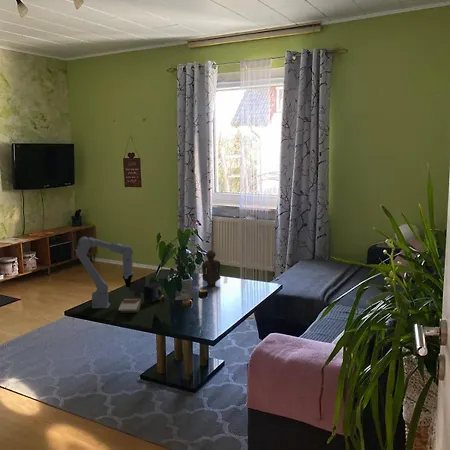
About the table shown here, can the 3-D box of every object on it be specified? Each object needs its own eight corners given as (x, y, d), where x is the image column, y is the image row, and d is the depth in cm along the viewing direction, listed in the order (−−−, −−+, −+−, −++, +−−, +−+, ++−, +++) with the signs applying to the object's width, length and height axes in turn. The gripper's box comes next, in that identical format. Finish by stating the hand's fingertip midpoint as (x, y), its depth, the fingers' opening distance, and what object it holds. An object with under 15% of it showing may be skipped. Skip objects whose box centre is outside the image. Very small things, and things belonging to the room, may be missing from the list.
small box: (151, 304, 296) (151, 287, 294) (143, 302, 299) (143, 285, 297) (162, 299, 305) (162, 283, 303) (154, 297, 308) (154, 281, 306)
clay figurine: (218, 283, 339) (218, 248, 335) (222, 287, 330) (222, 251, 325) (200, 284, 336) (200, 249, 331) (204, 288, 326) (204, 252, 322)
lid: (118, 310, 272) (118, 306, 271) (122, 302, 285) (122, 298, 284) (136, 310, 272) (136, 306, 272) (139, 302, 285) (139, 298, 285)
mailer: (121, 312, 281) (120, 306, 280) (124, 305, 293) (124, 298, 293) (138, 312, 281) (138, 306, 280) (141, 305, 294) (140, 298, 293)
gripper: (132, 268, 286) (133, 290, 288) (135, 262, 300) (136, 283, 303) (120, 268, 286) (121, 290, 288) (124, 262, 300) (125, 283, 302)
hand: (128, 287), depth 295 cm, fingers closed
